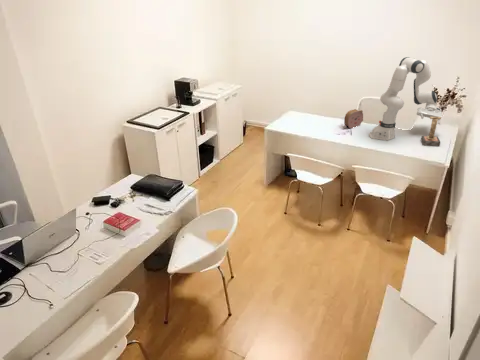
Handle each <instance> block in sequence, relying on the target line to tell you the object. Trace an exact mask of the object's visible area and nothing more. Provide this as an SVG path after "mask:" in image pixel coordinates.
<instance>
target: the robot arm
mask: <svg viewBox="0 0 480 360" xmlns="http://www.w3.org/2000/svg"><path fill="white" fill-rule="evenodd" d="M409 73H413V74H416V75H415V76H416V77H415V78H414V79H413V103H414V104H416V105H417V106H418V105H422V104H425V107H424V108H422V107H418V108H417V112H416V115H417V116H420V119H422V120H423V119H424V118H429V119H430V117H441V118H442V116H443V112H442V109H441V108H439V107H437V106H438V104H437V103H438V94H437V93H436V92H435V91H434V90H430V91H425V92H420V88H419V87H420V86H421V85H424V83H427V82H428V81H429V80H430V78H431V77H432V72H431V69H430V65H429V63H428V61H427V60H425V59H417V58H414V57H409V56H407V57H403V58H402V59H401V60H400V63H399V65H398V66H397V67H396V68H395V70H394V72H393V74H392V77H391V81H390V84H389V85H388V88H387V90H386V91H385V92H384V93H382V94H381V95H380V103H381V104H382V105H384V106H386V107H387V109H386V111H385V112H383V114H382V120H379V121H378V123H379V124H378V125H377V126H375V127H374V128H372V130H371V131H370V132H369V133H368V136H369V137H368V138H370V139H371V140H372V139H374V140H382V141H383V140H384V141H390V140H393V139H394V138H396V137H395V136H396V134H395V129H396V125H397V124H396V120H397V115H398V112H399V111H400V110H402V108H403V107H404V105H405V102H404V100H403V99H402V98H401V97H399V96H397V95H398V93H399V92H401V91H402V90H403V89H404V86H405V83H406V80H407V76H408V74H409ZM440 120H441V119H438V121H440Z"/></svg>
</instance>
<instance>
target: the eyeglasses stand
mask: <svg viewBox="0 0 480 360" xmlns="http://www.w3.org/2000/svg"><path fill="white" fill-rule="evenodd" d="M429 119H430V120H431V125H430V129H429V133H428V135H426V136H427V139H428V140H435V139H436V137H437V136H436V137H434V136H435V134H436V130H437V125H438V121H439V120H438V119H440V120H441V119H442V117H430V118H429Z"/></svg>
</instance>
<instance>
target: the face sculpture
mask: <svg viewBox="0 0 480 360" xmlns="http://www.w3.org/2000/svg"><path fill="white" fill-rule="evenodd" d="M363 112H364V111H363V110H362V109H360V110H359V109H356V108H355V109H351V110H349V111H347V112H346V114H345V115H344V120H343V121H344V122H343V123H344V126H345V127H347V126H348V127H347V128H349V129H354V128H357V127H359V126H360V125H361V124H362V122H363V121H364V113H363ZM356 126H357V127H356ZM353 127H354V128H353Z"/></svg>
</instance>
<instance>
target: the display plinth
mask: <svg viewBox="0 0 480 360" xmlns="http://www.w3.org/2000/svg"><path fill="white" fill-rule="evenodd" d="M427 136H428V135H421V137H420V142H421V144H422V146H423V145H424V146H425V147H440V146H441V140H440V138H439V137H438V136H436V135H434V137H436V139H435V140H428V139H427Z"/></svg>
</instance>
